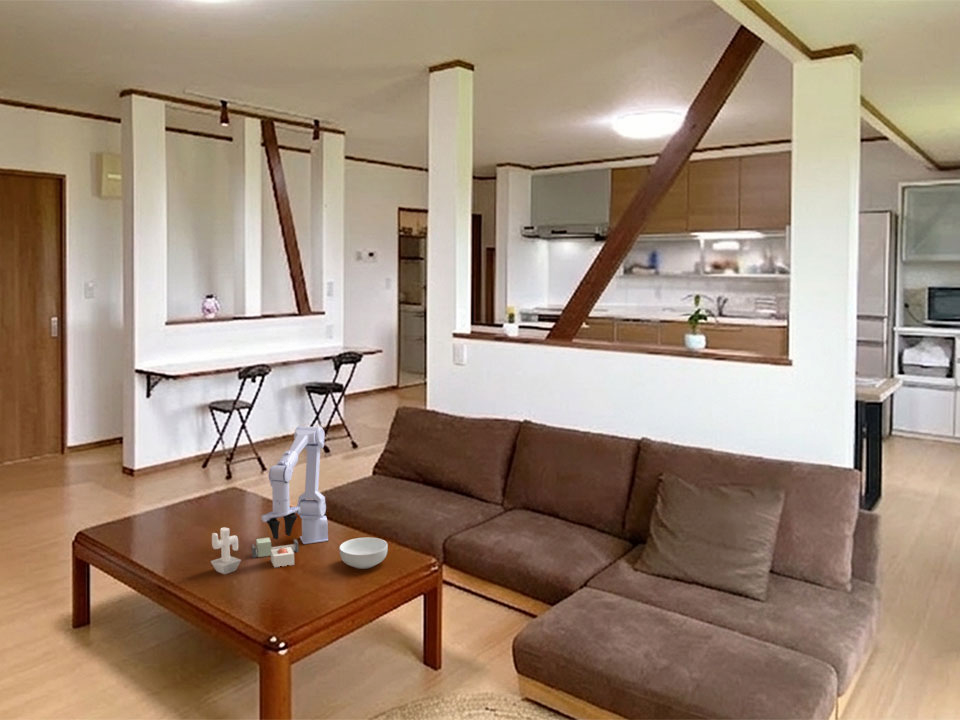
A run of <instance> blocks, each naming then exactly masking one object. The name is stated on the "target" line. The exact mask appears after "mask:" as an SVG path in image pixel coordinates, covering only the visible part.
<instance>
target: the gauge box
mask: <svg viewBox="0 0 960 720" xmlns="http://www.w3.org/2000/svg"><path fill="white" fill-rule="evenodd" d="M280 549H282V548H280ZM285 549H286V552H287V553H282V554H278V550H279V549H273V550H271V556H270V562H271V564H272V566H274V567H273V568H280V566H282V567H287V565H289V566H295V552H293V550H292V548H291V547H288V548H285Z"/></svg>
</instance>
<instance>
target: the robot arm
mask: <svg viewBox="0 0 960 720" xmlns="http://www.w3.org/2000/svg"><path fill="white" fill-rule="evenodd" d="M293 434H294V435H293V438H294V440H293V442H292V443H291V446H290V448H289V449H288V450H285V451H284V452H283V454H282V455H281V457H280V459H279V460H278V461H277V463H276V464H274V465H272V466H271V467H270V468H269V471H268V479H269V482H270V487H271V491H272V492H271V493H272V494H271V495H272V496H271V497H272V511H270V512H268V513H265V514H262V515H261V521H262V522H263V523H267V524H268V526H269V529H270V530H271V531H270V532H271V534H272V539H275V540H278V539H279V534H280V533H279V528H280V527H279V526H280V523H281V521H279V520H278V519H279V518H282V517H283V521H284V530H285V531H284V532H285V535H287V536H288V537H290V536H291V535H292V530H293V527H294V524H295V522H296V520H297V518H298V517H297V515H298V516H299V518H300V519H301V536H299V538H300V541H301V542H302V544H303V545H307V544H313V543H314V544H315V543H323V542H328V541H329V533H328V532H329V529H328V527H329V526H328V518H327V515H325V514H326V510H327V504H326V496H324V495H323V494H322V493H321V492H320V491H319V487H320V486H319V485H320V484H319V483H320V480H319V479H320V467H321V465H320V463H321V462H320V461H321V450H322V449H323V448H324V446H325V438H326V437H325V436H326V435H325V434H326V433H325V430H324V429H323V427H322V426H305V425H304V426H303V425H298V426H297V427H296V428H295V430H294V433H293ZM304 448H305V450H306V466H305V467H306V468H305V484H304V492H302V493H301V494H300V495H299V496H298V500H297V504H296V506H292V507H291V506H290V504H291V503H290V481H291V480H292V476H293V473H294V468H295V466H296V465H297V463H298V462H299V459H300V458H299V455H300V453H301V452H302V451H303V449H304Z"/></svg>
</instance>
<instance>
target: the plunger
mask: <svg viewBox="0 0 960 720" xmlns="http://www.w3.org/2000/svg"><path fill="white" fill-rule="evenodd" d="M282 553H287V552H286V549H285V548H282V549H279V550H278V554H282Z"/></svg>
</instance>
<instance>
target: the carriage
mask: <svg viewBox="0 0 960 720" xmlns="http://www.w3.org/2000/svg"><path fill="white" fill-rule="evenodd" d="M255 541H256V542H255V544H256V545H255V547H256V549H257V550H258V558H262V557H269V556H270V557H271V547H272V540H271V538H270V537H262V538H256V540H255Z"/></svg>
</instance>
